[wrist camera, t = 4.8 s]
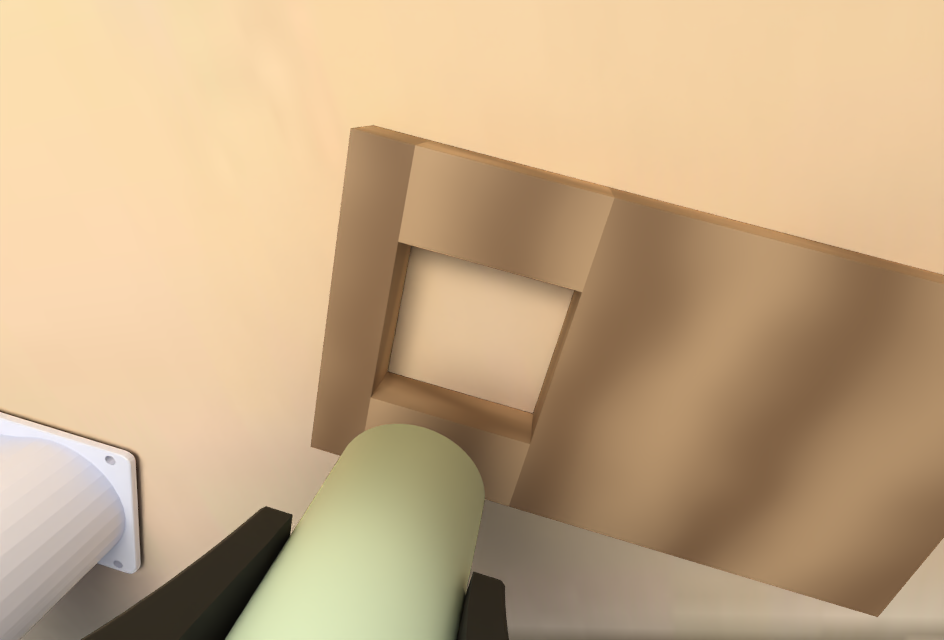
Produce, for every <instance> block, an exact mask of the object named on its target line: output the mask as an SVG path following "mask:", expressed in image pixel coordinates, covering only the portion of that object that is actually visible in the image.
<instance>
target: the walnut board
mask: <svg viewBox="0 0 944 640" xmlns="http://www.w3.org/2000/svg"><path fill="white" fill-rule="evenodd" d="M411 245H412V246H415V247H419V248H423V249H426V250H430V251H434V252H437V253H441V254H444V255H448V256H452V257H455V258H459V259H463V260H466V261H470V262H474V263H477V264H481V265H485V266H488V267H492V268H495V269H499V270H503V271H506V272H510V273H514V274H517V275H521V276H525V277H528V278H532V279H536V280H539V281H543V282H546V283H550V284H554V285H557V286H561V287H565V288H568V289H572V290H575V291H574V293H573V296H572V299H571V302H570V305H569V308H568V311H567V314H566V317H565V320H564V323H563V326H562V329H561V332H560V335H559V338H558V341H557V344H556V347H555V350H554V353H553V356H552V359H551V362H550V365H549V368H548V371H547V374H546V377H545V380H544V383H543V386H542V389H541V392H540V395H539V398H538V401H537V404H536V407H535V410H534V413H533V414H532V413H528V412H525V411H521V410H518V409H515V408H511V407H508V406H504V405H501V404H497V403H494V402H490V401H487V400H483V399H480V398H477V397H473V396H470V395H466V394H463V393H459V392H456V391H452V390H449V389H445V388H442V387H439V386H435V385H432V384H428V383H425V382H421V381H418V380H414V379H411V378H407V377H404V376H401V375H397V374H394V373H390V372H388V366H389V361H390V356H391V350H392V345H393V340H394V335H395V329H396V324H397V319H398V313H399V308H400V303H401V297H402V292H403V287H404V281H405V276H406V271H407V265H408V260H409V255H410V249H411ZM387 424H409V425H416V426H420V427H424V428H427V429H430V430H432V431H435V432H437V433H439V434H441V435H443V436H445V437H447V438H448V439H450V440H451V441H453V442H454V443H455V444H457V445H458V446H459V447H460V448H461V449H462V450H463V451H464V452H465V453H466V454H467V455H468V456H469V457H470V458H471V460H472V461H473V462H474V464H475V465H476V467H477V469H478V471H479V473H480V475H481V478H482V481H483V485H484V491H485V499H486V500H490V501H493V502H496V503H500V504H503V505H506V506H510V507H513V508H516V509H520V510H523V511H526V512H530V513H533V514H536V515H540V516H543V517H546V518H550V519H553V520H556V521H560V522H563V523H566V524H570V525H573V526H576V527H580V528H583V529H586V530H590V531H593V532H596V533H600V534H603V535H606V536H610V537H613V538H616V539H620V540H623V541H626V542H630V543H633V544H636V545H640V546H643V547H646V548H650V549H653V550H656V551H659V552H663V553H666V554H669V555H673V556H676V557H679V558H683V559H686V560H689V561H693V562H696V563H699V564H703V565H706V566H709V567H713V568H716V569H719V570H723V571H726V572H729V573H733V574H736V575H739V576H743V577H746V578H749V579H753V580H756V581H759V582H763V583H766V584H769V585H773V586H776V587H779V588H783V589H786V590H789V591H793V592H796V593H799V594H803V595H806V596H809V597H813V598H816V599H819V600H823V601H826V602H829V603H833V604H836V605H839V606H843V607H846V608H849V609H853V610H856V611H859V612H863V613H866V614H869V615H873V616H876V617H878V616H879V615H880V614H881V613H882V611H883V610H884V609H885V608H886V607H887V605H888V604H889V603H890V602H891V601H892V599H893V598H894V597H895V596H896V595H897V593H898V592H899V591H900V590H901V588H902V587H903V586H904V585H905V584H906V582H907V581H908V580H909V579H910V578H911V576H912V575H913V574H914V573H915V572H916V570H917V569H918V568H919V567H920V566H921V564H922V563H923V562H924V561H925V560H926V558H927V557H928V556H929V555H930V554H931V552H932V551H933V550H934V549H935V547H936V546H937V545H938V544H939V543H940V541H941V540H942V539H943V538H944V275H942V274H938V273H934V272H930V271H926V270H922V269H919V268H915V267H911V266H907V265H903V264H900V263H896V262H892V261H888V260H884V259H881V258H877V257H873V256H869V255H865V254H861V253H858V252H854V251H850V250H846V249H842V248H839V247H835V246H831V245H827V244H823V243H820V242H816V241H812V240H808V239H804V238H800V237H797V236H793V235H789V234H785V233H781V232H778V231H774V230H770V229H766V228H762V227H759V226H755V225H751V224H747V223H743V222H739V221H736V220H732V219H728V218H724V217H720V216H717V215H713V214H709V213H705V212H701V211H698V210H694V209H690V208H686V207H682V206H678V205H675V204H671V203H667V202H663V201H659V200H656V199H652V198H648V197H644V196H640V195H637V194H633V193H629V192H625V191H621V190H617V189H614V188H610V187H606V186H602V185H598V184H595V183H591V182H587V181H583V180H579V179H576V178H572V177H568V176H564V175H560V174H556V173H553V172H549V171H545V170H541V169H537V168H534V167H530V166H526V165H522V164H518V163H515V162H511V161H507V160H503V159H499V158H495V157H492V156H488V155H484V154H480V153H476V152H473V151H469V150H465V149H461V148H457V147H454V146H450V145H446V144H442V143H438V142H434V141H431V140H427V139H423V138H419V137H415V136H412V135H408V134H404V133H400V132H396V131H393V130H389V129H385V128H381V127H377V126H373V125H372V126H365V127H357V128H351V130H350V138H349V146H348V154H347V162H346V170H345V178H344V186H343V194H342V202H341V210H340V218H339V225H338V233H337V241H336V249H335V257H334V265H333V273H332V281H331V289H330V297H329V305H328V313H327V321H326V329H325V337H324V345H323V353H322V361H321V369H320V376H319V384H318V392H317V400H316V408H315V416H314V424H313V432H312V440H311V447H313V448H317V449H320V450H323V451H327V452H330V453H333V454H337V455H340V456H341V455H342V453H343V451H344V450H345V448H346V447H347V445H348V444H349V443H350V442H351V441H352V440H353V439H354V438H355V437H357V436H358V435H359V434H361V433H363V432H365V431H366V430H369V429H371V428H374V427H377V426H381V425H387Z"/></svg>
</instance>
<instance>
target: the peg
mask: <svg viewBox="0 0 944 640" xmlns="http://www.w3.org/2000/svg"><path fill="white" fill-rule="evenodd" d="M484 501H485V491H484V485H483V481H482V478H481V475H480V473H479V471H478V469H477V467H476V465H475V464H474V462H473V461H472V460H471V458H470V457H469V456H468V455H467V454H466V453H465V452H464V451H463V450H462V449H461V448H460V447H459V446H458V445H457V444H455V443H454V442H453V441H451V440H450V439H448V438H447V437H445V436H443V435H441V434H439V433H437V432H435V431H432V430H430V429H427V428H424V427H420V426H416V425H409V424H387V425H381V426H377V427H374V428H371V429H369V430H366V431H365V432H363V433H361V434H359V435H358V436H357V437H355V438H354V439H353V440H352V441H351V442H350V443H349V444H348V445H347V447H346V448H345V450H344V451H343V453H342V455H341V456H340V458H339V459H338V461H337V463H336V464H335V466H334V467H333V469H332V470H331V472H330V474H329V475H328V477H327V478H326V480H325V482H324V483H323V485H322V486H321V488H320V489H319V491H318V493H317V494H316V496H315V497H314V499H313V501H312V502H311V504H310V505H309V507H308V508H307V510H306V512H305V513H304V515H303V516H302V518H301V520H300V521H299V523H298V524H297V526H296V527H295V529H294V531H293V532H292V534H291V535H290V537H289V539H288V540H287V542H286V543H285V545H284V546H283V548H282V550H281V551H280V553H279V554H278V556H277V558H276V559H275V561H274V562H273V564H272V565H271V567H270V569H269V570H268V572H267V573H266V575H265V577H264V578H263V580H262V581H261V583H260V584H259V586H258V588H257V589H256V591H255V592H254V594H253V596H252V597H251V599H250V600H249V602H248V603H247V605H246V607H245V608H244V610H243V611H242V613H241V615H240V616H239V618H238V619H237V621H236V622H235V624H234V626H233V627H232V629H231V630H230V632H229V634H228V635H227V637H226V638H225V640H456V639H457V634H458V630H459V625H460V620H461V615H462V610H463V605H464V600H465V595H466V591H467V586H468V581H469V576H470V571H471V567H472V562H473V557H474V552H475V547H476V542H477V537H478V532H479V527H480V522H481V517H482V512H483V507H484Z"/></svg>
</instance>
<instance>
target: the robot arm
mask: <svg viewBox="0 0 944 640" xmlns="http://www.w3.org/2000/svg"><path fill="white" fill-rule="evenodd" d="M291 523H292V514H289V513H285V512H282V511H279V510H276V509H273V508H270V507H264V508H261V509H260V510H259V511H258V512H256V513H255V514H254V515H253V516H252V517H251V518H249V519H248V520H247V521H246V522H244V523H243V524H242V525H241V526H240V527H238V528H237V529H236V530H235V531H234V532H232V533H231V534H230V535H229V536H227V537H226V538H225V539H224V540H222V541H221V542H220V543H219V544H217V545H216V546H215V547H213V548H212V549H211V550H210V551H208V552H207V553H206V554H205V555H203V556H202V557H201V558H199V559H198V560H197V561H195V562H194V563H192V564H191V565H190V566H188V567H187V568H186V569H184V570H183V571H182V572H180V573H179V574H178V575H176V576H175V577H174V578H172V579H171V580H170V581H168V582H167V583H166V584H164V585H163V586H161V587H160V588H158V589H157V590H155V591H154V592H153V593H151V594H150V595H148V596H147V597H145V598H144V599H142V600H141V601H139V602H138V603H137V604H135V605H134V606H132V607H131V608H129V609H128V610H126V611H125V612H123V613H122V614H120V615H119V616H117V617H116V618H114V619H113V620H111V621H110V622H108V623H107V624H105V625H103V626H102V627H100V628H99V629H97V630H96V631H94V632H92V633H91V634H89V635H88V636H86V637H84V638H83V639H81V640H225V638H226V637H227V635H228V634H229V632H230V630H231V629H232V627H233V626H234V624H235V622H236V621H237V619H238V618H239V616H240V615H241V613H242V611H243V610H244V608H245V607H246V605H247V603H248V602H249V600H250V599H251V597H252V596H253V594H254V592H255V591H256V589H257V588H258V586H259V584H260V583H261V581H262V580H263V578H264V577H265V575H266V573H267V572H268V570H269V569H270V567H271V565H272V564H273V562H274V561H275V559H276V558H277V556H278V554H279V553H280V551H281V550H282V548H283V546H284V545H285V543H286V542H287V540H288V539H289V537H290V531H291ZM96 564H101V565H104V566H107V567H110V568H113V569H116V570H119V571H122V572H125V573H130V574H132V573H135V572H136V571H137V570H138V569H139V568H140V565H141V561H140V541H139V520H138V500H137V479H136V461H135V458H134V456H133V455H132V454H131V453H130V452H128V451H125V450H122V449H119V448H116V447H112V446H109V445H106V444H103V443H99V442H96V441H93V440H90V439H86V438H83V437H80V436H77V435H73V434H70V433H67V432H64V431H60V430H57V429H54V428H51V427H47V426H44V425H41V424H38V423H34V422H31V421H28V420H24V419H21V418H18V417H15V416H11V415H8V414H5V413H2V412H0V640H20V639H21V638H22V637H23V636H24V635H25V634H26V633H27V632H28V631H29V630H30V629H31V628H32V627H33V626H34V625H35V624H36V623H37V622H38V621H39V620H40V619H41V618H42V617H43V616H44V615H45V614H46V613H47V612H48V611H49V610H50V609H51V608H52V607H53V606H54V605H55V604H56V603H57V602H58V601H59V600H60V599H61V598H62V597H63V596H64V595H65V594H66V593H67V592H68V591H69V590H70V589H71V588H72V587H73V586H74V585H75V584H76V583H77V582H78V581H79V580H80V579H81V578H82V577H83V576H84V575H85V574H86V573H88V572H89V571H90V570H91V569H92V568H93V567H94V566H95V565H96ZM456 640H509V638H508V630H507V620H506V608H505V586H504V584H503V582H502V581H501V580H498V579H495V578H492V577H489V576H485V575H482V574H479V573H476V572H473V574H472V577H471V580H470V583H469V586H468V589H467V592H466V595H465V600H464V605H463V610H462V615H461V620H460V625H459V630H458V634H457V639H456Z"/></svg>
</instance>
